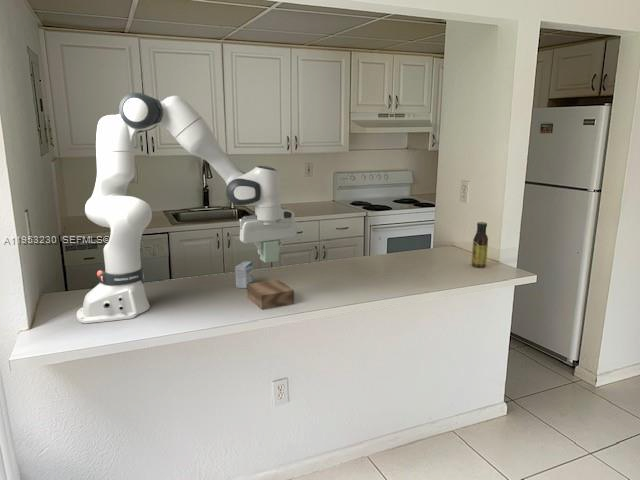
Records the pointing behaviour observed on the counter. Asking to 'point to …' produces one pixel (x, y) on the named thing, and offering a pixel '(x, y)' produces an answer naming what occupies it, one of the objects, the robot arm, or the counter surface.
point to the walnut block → (270, 294)
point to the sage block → (269, 251)
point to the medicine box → (244, 274)
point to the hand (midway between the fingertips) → (269, 252)
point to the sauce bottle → (480, 246)
